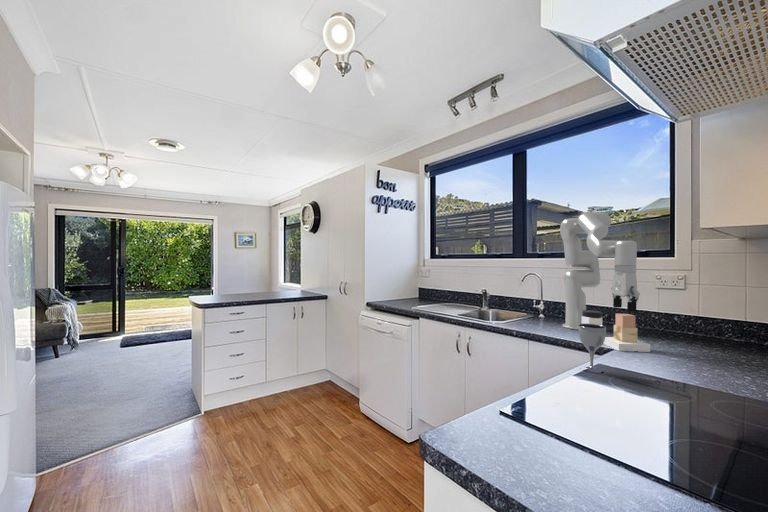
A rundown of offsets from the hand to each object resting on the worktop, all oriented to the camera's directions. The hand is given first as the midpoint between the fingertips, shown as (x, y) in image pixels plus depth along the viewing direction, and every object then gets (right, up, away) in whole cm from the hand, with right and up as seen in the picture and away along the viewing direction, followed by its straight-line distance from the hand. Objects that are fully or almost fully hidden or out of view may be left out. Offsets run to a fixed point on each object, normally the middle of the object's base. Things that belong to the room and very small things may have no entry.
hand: (624, 309), depth 141 cm
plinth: (0, -16, -1) cm, 16 cm away
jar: (-1, -17, +20) cm, 26 cm away
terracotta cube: (0, -7, -1) cm, 7 cm away
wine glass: (-33, -16, -30) cm, 47 cm away
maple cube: (0, -13, -1) cm, 13 cm away
